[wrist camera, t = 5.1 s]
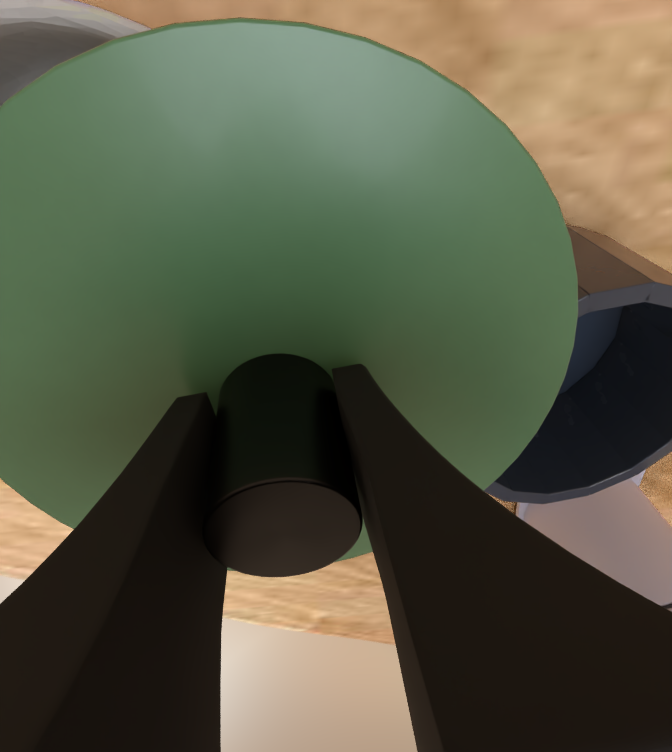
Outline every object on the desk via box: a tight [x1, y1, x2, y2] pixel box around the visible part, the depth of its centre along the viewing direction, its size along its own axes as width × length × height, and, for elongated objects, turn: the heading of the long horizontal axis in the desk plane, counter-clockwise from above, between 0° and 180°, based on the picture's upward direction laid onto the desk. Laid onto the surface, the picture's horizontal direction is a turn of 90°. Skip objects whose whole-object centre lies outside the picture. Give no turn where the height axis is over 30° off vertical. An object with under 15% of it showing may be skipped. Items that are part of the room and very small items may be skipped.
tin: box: [484, 225, 672, 504], centre depth 20 cm, size 11×11×6 cm
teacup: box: [0, 0, 151, 106], centre depth 14 cm, size 14×11×8 cm
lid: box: [0, 18, 578, 577], centre depth 9 cm, size 13×13×4 cm
